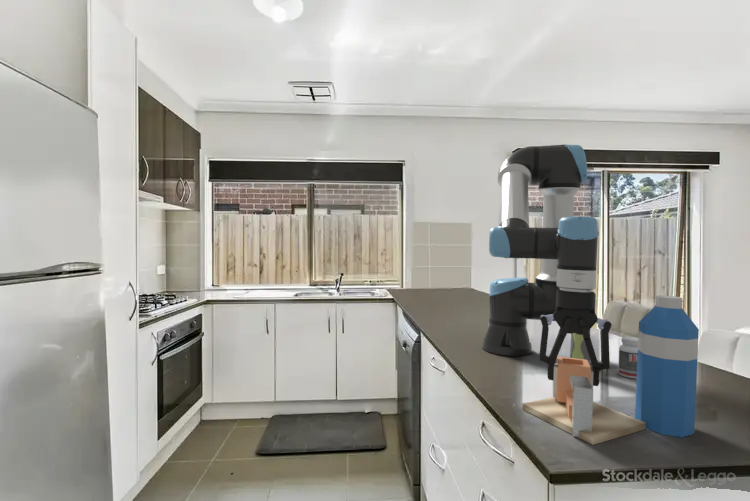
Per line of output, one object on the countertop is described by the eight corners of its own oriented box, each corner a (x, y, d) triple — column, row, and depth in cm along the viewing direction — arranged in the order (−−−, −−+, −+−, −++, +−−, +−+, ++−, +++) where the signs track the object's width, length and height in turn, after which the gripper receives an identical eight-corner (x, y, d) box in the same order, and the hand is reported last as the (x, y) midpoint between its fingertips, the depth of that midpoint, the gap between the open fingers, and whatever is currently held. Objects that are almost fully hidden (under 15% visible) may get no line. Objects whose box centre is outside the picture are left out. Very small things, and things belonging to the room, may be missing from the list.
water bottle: (623, 415, 83) (628, 293, 82) (666, 415, 84) (671, 293, 83) (659, 437, 74) (665, 300, 73) (707, 437, 74) (713, 300, 74)
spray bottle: (573, 368, 113) (575, 297, 113) (592, 372, 110) (594, 299, 109) (566, 372, 110) (569, 298, 109) (585, 376, 106) (588, 300, 106)
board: (522, 409, 85) (522, 403, 85) (572, 398, 91) (572, 393, 91) (592, 444, 70) (593, 437, 70) (645, 429, 77) (646, 422, 77)
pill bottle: (647, 380, 105) (648, 342, 105) (623, 378, 106) (624, 340, 106) (637, 373, 111) (639, 336, 110) (614, 371, 112) (616, 335, 112)
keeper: (568, 420, 80) (569, 375, 80) (585, 423, 79) (586, 377, 79) (572, 436, 73) (574, 387, 73) (591, 439, 72) (593, 389, 72)
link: (594, 422, 75) (596, 379, 75) (559, 416, 78) (560, 374, 77) (585, 396, 88) (587, 359, 88) (555, 391, 91) (556, 356, 90)
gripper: (527, 288, 86) (524, 396, 87) (631, 294, 79) (627, 412, 80) (528, 285, 93) (524, 385, 94) (623, 290, 86) (619, 398, 87)
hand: (571, 397), depth 87 cm, fingers closed on link, 6 cm apart
